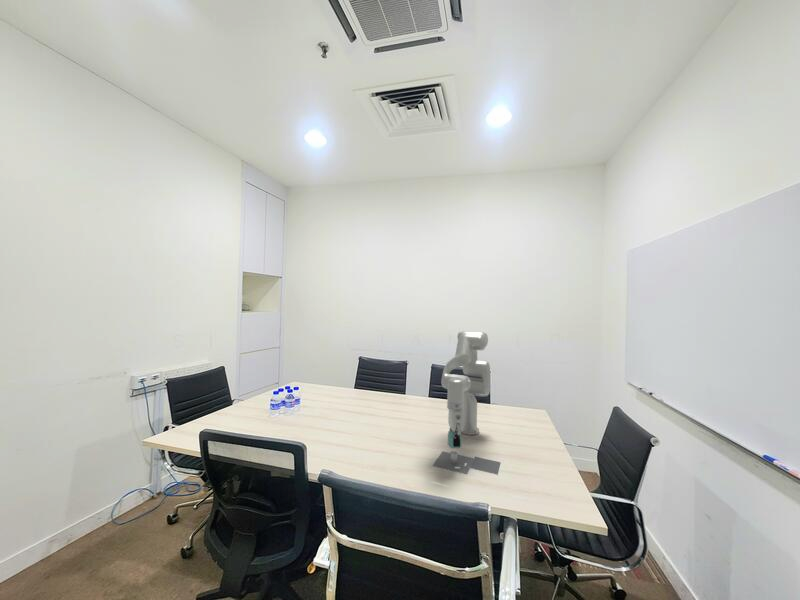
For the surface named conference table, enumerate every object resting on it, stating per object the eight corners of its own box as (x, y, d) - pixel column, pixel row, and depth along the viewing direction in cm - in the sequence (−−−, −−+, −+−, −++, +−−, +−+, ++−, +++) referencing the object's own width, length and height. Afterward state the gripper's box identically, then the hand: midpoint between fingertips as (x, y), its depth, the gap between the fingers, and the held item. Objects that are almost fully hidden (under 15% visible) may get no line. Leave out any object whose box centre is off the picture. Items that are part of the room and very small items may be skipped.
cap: (446, 442, 150) (447, 429, 150) (458, 442, 151) (459, 429, 151) (450, 448, 144) (450, 435, 144) (462, 448, 145) (462, 434, 145)
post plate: (442, 452, 157) (442, 442, 157) (474, 459, 150) (474, 449, 151) (432, 466, 142) (432, 456, 143) (467, 475, 136) (467, 464, 136)
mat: (475, 457, 152) (475, 456, 152) (500, 463, 147) (500, 462, 147) (470, 469, 141) (470, 467, 141) (497, 475, 136) (497, 474, 136)
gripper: (468, 411, 139) (468, 451, 139) (457, 399, 156) (457, 434, 156) (452, 412, 138) (451, 452, 138) (443, 399, 155) (442, 435, 155)
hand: (454, 442), depth 147 cm, fingers closed on cap, 6 cm apart
